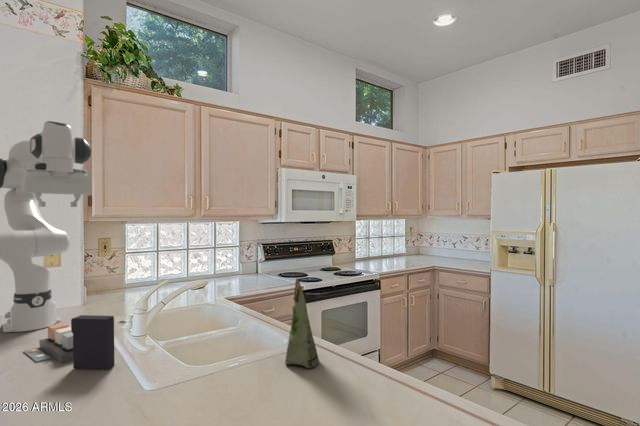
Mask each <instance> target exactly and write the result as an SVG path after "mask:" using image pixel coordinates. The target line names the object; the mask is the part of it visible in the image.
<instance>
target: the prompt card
mask: <svg viewBox="0 0 640 426" xmlns="http://www.w3.org/2000/svg"><path fill="white" fill-rule="evenodd" d="M22 353H24V354H25V355H26V354H27V355H26V356H28V357H29V358H30V357H31V358H32V359H31V358H30V359H31V360H32V361H34V362H35V363H41V362H44V361H47V360H48V361H49V360H51V356H49V355H48V354H47V353H46V352H45V351H44V352H43V350H42V349H40V348H38V347H34V348H30V349H25V350H23V351H22Z"/></svg>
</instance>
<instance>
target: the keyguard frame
mask: <svg viewBox="0 0 640 426" xmlns="http://www.w3.org/2000/svg"><path fill="white" fill-rule="evenodd" d="M39 349H40V350H42V351H44V353H46V354H47V355H48V354H49V355H50V357H53V358H54V359H55V360H57V361H58V362H59V363H61V364H64V363H68V362H70V361H73V348H72V349H66V348H64V347H63V346H62V344H58V343H56V342H55V340H52V339H50V338H48V337H46V338H42V339H39Z"/></svg>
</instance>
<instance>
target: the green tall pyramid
mask: <svg viewBox="0 0 640 426" xmlns="http://www.w3.org/2000/svg"><path fill="white" fill-rule="evenodd" d="M294 284H295V286H294V296H293V301H294V304H293V306H292V318H291V324H290V325H291V326H290V330H289V337H288V343H287V347H286V354H285V365H297V366H303V367H305V368H307V369H312V368H315V367H316V366H317V365H318V364H319V361H320V358H319V355H318V350H317V346H316V343H315V340H314V337H313V333H312V328H311V324H310V323H311V322H310V319H309V314H308V313H309V312H308V308H307V303H306V298H305V295H304V291H303V287H302V285H301V283H300V280H299V278H298V277H296V278H295V283H294Z"/></svg>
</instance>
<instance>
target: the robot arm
mask: <svg viewBox="0 0 640 426" xmlns="http://www.w3.org/2000/svg"><path fill="white" fill-rule="evenodd" d="M91 154H92V147H91V145H90V144H89V142H88V141H87V140H86V139H84V138H83V137H73V132H72V127H71V125H69V124H68V123H65V122H64V123H63V122H59V121H51V120H47V121H44V124H43V127H42V131H41V132H40V133H37V134H35V135H33V136H32V137H31V138H30V139H29V140H21V141H19V142H16V143H15V144H13V145H12V146H11V147H10V149H9V151H8V158H7V159H6V160H4V159H3V158H0V189H10V190H8V191H6V193H5V195H4V199H3V203H4V206H3V207H4V211H5V217H6V219H7V221H8V225H9V227H10V228H11V229H12V230H10V231H9V230H8V231H4V232H0V260H1V261H2V262H3V263H5V264H7V265H8V267H9V268H10V269H11V271H12V273H13V277H14V287H15V289H14V292H15V293H14V294H13V297H12V298H13V300H12V301H13V303H12V306H11V307H10V310H9V311H7V312H4V318H5V319H7V320H5V321H3V322H2V333H12V332H14V333H15V332H16V333H18V332H30V331H36V330H41V329H44V328H48V326H51V325H56V323H57V324H58V323H60V322H61V321H62V318H61V317H58V316H57V304H56V303H57V302H56V301H54V300H52V294H53V293H52V289H51V276H50V275H51V273H50V270H49V269H48V268H46V267H44V266H41V265H38V264H36V263H34V262H33V260H32V258H37V257H51V256H55V255H59V254H64V253H66V252H67V250H68V249H69V248H70V246H71V238H70V236H69V234H68V233H67V232H66V231H65V230H62V229H59V228H56V227H54V226H53V225H51V224H50V223H49V222H47V221H46V220H45V219H44V218H43V216H42V214H41V212H40V209H39V208H45V207H46V201H44V200H42V198H41V197H42V194H45V195H48V194H53V195H73V198H74V200H73V201H70V207H71V208H78V202H79V201H80V199H81V195H84V196H88V195H90V194H92V184H91V183H92V182H91V180H92V174H91V172H90V171H88V170H87V169H77V168H74V164H78V165H83V164H84V163H86V162H87V161H89V160H90V158H91ZM37 202H38V203H37Z"/></svg>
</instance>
